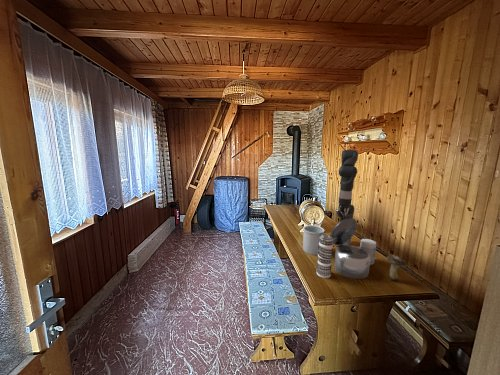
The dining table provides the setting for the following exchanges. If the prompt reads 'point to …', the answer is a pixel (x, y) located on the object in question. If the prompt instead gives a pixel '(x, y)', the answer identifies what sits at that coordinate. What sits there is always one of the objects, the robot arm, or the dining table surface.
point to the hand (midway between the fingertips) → (342, 222)
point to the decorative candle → (325, 256)
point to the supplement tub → (369, 248)
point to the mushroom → (395, 265)
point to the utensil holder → (312, 239)
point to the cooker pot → (352, 261)
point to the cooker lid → (344, 230)
